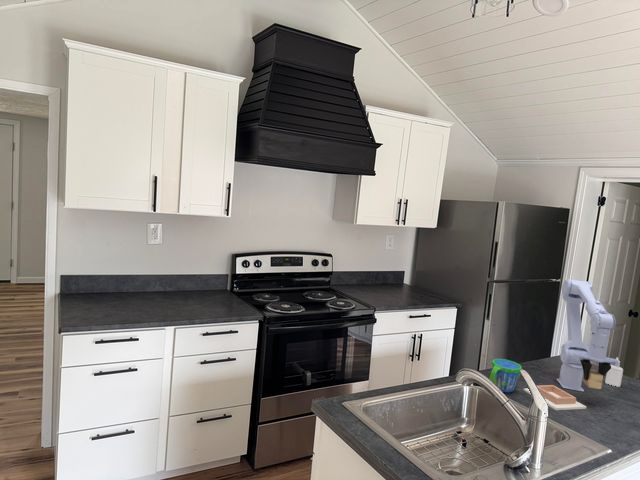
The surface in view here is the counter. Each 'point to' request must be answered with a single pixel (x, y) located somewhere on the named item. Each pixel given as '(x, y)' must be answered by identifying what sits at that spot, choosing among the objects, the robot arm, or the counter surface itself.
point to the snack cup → (505, 374)
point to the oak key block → (594, 379)
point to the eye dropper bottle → (614, 375)
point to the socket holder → (558, 398)
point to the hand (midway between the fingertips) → (592, 380)
